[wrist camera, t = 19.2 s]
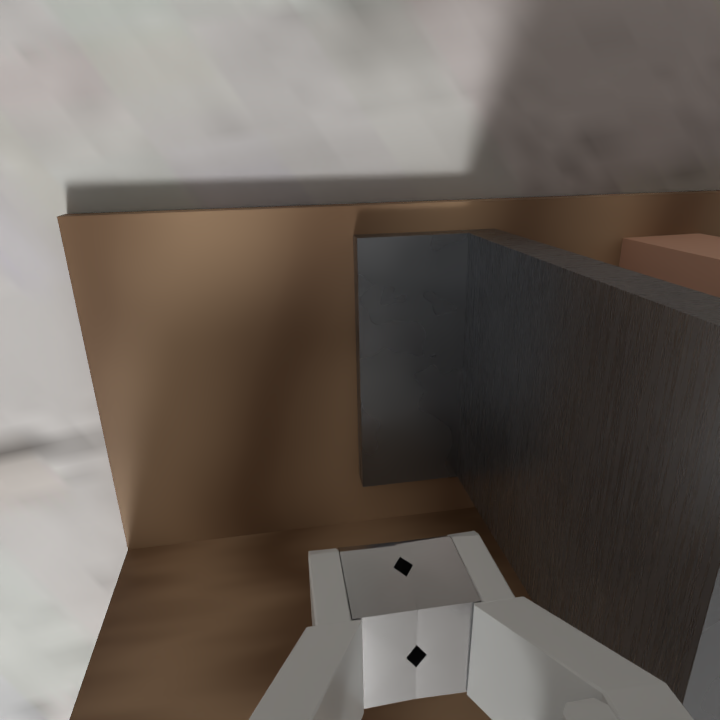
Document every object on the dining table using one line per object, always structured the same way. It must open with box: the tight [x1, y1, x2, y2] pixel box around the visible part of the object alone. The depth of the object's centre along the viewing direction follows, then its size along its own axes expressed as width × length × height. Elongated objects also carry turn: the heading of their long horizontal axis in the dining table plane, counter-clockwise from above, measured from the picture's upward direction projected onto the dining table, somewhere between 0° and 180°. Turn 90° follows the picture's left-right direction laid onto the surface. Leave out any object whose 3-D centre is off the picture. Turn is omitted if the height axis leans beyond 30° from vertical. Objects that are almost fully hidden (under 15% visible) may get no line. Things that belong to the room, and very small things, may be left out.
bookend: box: [353, 228, 720, 720], centre depth 14 cm, size 5×9×12 cm, turn 1°
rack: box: [57, 190, 720, 720], centre depth 16 cm, size 27×13×11 cm, turn 91°
